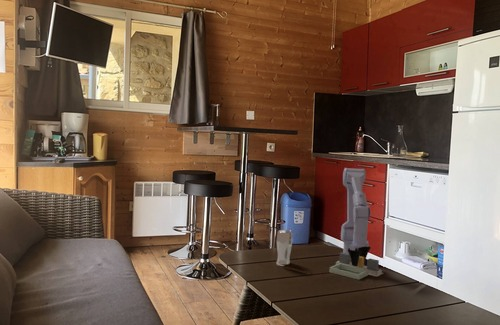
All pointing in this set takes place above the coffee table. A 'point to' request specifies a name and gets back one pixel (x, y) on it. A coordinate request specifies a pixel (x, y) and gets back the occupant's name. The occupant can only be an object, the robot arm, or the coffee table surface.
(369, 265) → the block
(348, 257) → the block
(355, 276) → the tray
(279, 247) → the beer glass
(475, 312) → the coffee table surface
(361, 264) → the block
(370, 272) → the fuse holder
